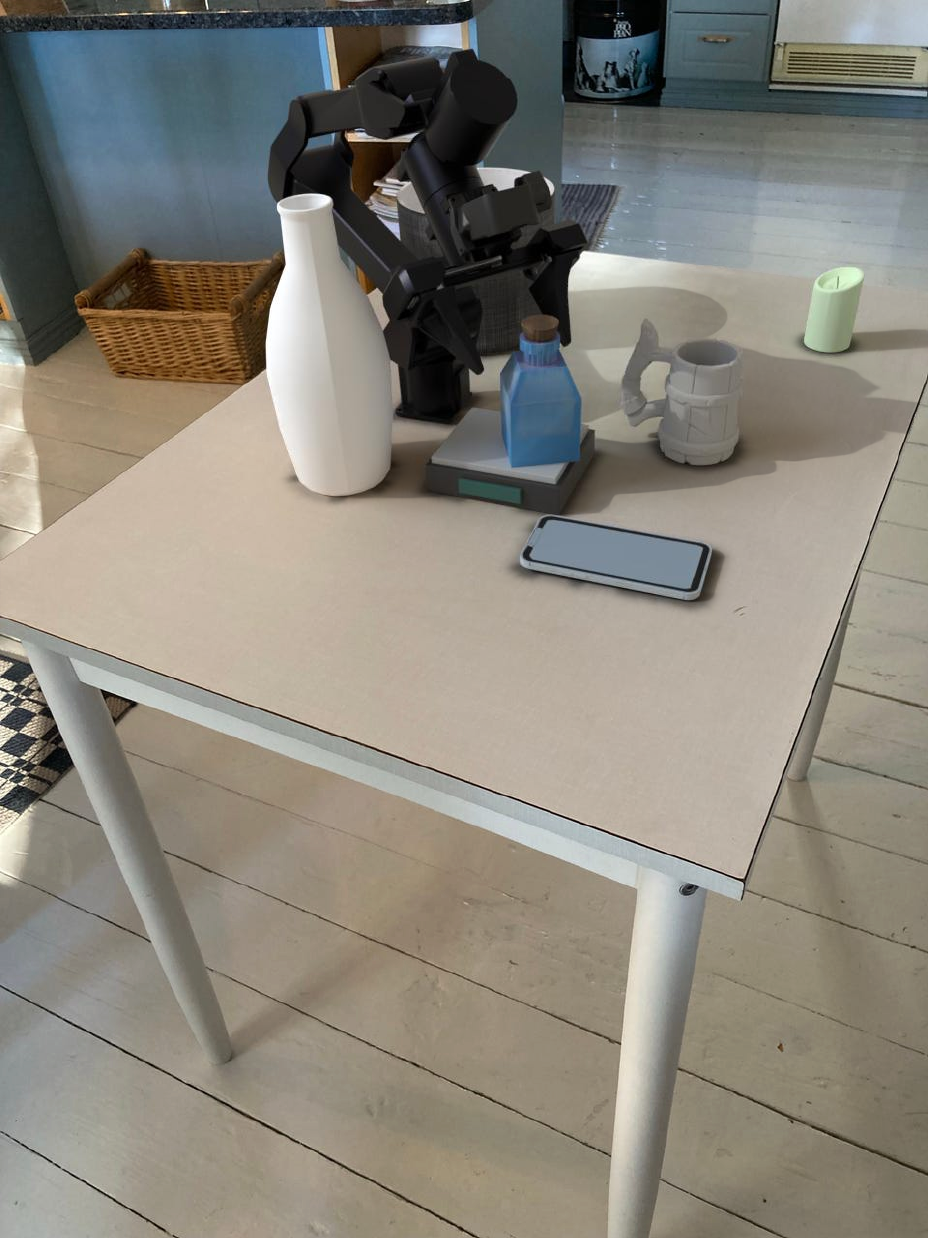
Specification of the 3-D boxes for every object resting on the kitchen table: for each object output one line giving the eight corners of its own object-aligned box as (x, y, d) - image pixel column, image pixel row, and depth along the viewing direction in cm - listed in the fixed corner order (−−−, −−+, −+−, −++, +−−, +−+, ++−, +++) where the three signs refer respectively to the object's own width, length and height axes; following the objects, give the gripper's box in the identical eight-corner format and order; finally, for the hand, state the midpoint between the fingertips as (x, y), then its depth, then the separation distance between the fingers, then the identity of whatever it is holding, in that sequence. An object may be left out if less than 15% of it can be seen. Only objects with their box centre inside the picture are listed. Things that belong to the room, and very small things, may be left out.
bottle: (421, 455, 98) (397, 186, 82) (366, 514, 91) (328, 230, 75) (324, 435, 102) (283, 176, 86) (264, 491, 95) (207, 217, 78)
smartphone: (698, 596, 78) (516, 560, 82) (697, 605, 79) (516, 569, 83) (714, 543, 83) (542, 512, 88) (712, 552, 84) (542, 521, 88)
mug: (726, 474, 93) (742, 353, 85) (605, 451, 97) (611, 334, 90) (745, 435, 98) (762, 319, 91) (630, 415, 102) (637, 302, 95)
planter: (518, 366, 112) (516, 224, 102) (381, 343, 119) (367, 207, 109) (574, 306, 125) (577, 174, 114) (447, 288, 131) (440, 162, 121)
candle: (817, 355, 111) (830, 283, 106) (795, 337, 115) (807, 267, 109) (858, 349, 112) (873, 277, 106) (835, 331, 115) (849, 261, 110)
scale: (425, 493, 93) (422, 460, 91) (470, 435, 101) (469, 403, 99) (557, 517, 89) (558, 484, 87) (594, 454, 97) (595, 422, 95)
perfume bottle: (579, 460, 89) (583, 334, 82) (511, 467, 89) (509, 340, 81) (566, 427, 94) (568, 304, 87) (501, 433, 94) (498, 311, 86)
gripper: (384, 163, 76) (466, 348, 76) (579, 120, 84) (655, 289, 83) (350, 239, 87) (422, 402, 87) (527, 194, 94) (594, 345, 94)
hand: (525, 358), depth 87 cm, fingers open, 9 cm apart
